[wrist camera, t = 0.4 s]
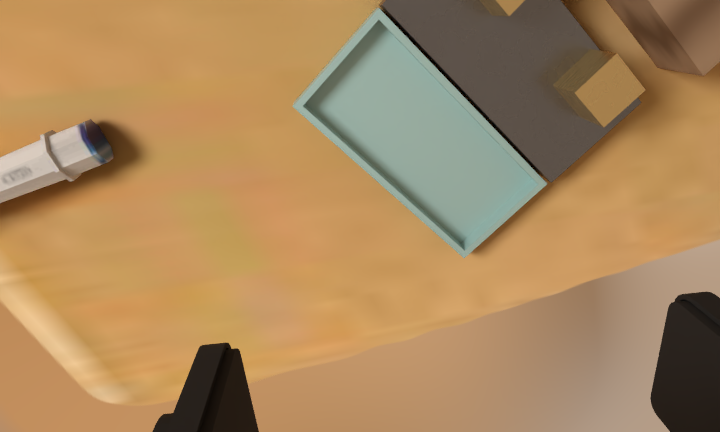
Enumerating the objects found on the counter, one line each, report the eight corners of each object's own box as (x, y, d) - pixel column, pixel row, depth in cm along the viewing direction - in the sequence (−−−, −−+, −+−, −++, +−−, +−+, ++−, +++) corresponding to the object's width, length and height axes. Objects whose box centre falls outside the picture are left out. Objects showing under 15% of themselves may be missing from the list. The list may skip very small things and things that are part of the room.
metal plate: (378, 4, 40) (381, 4, 37) (468, -98, 37) (477, -105, 35) (540, 174, 46) (551, 182, 44) (625, 97, 44) (641, 102, 42)
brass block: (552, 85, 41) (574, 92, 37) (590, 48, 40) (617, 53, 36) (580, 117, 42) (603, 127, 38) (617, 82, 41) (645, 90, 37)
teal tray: (294, 101, 42) (292, 106, 40) (376, 7, 40) (378, 7, 38) (458, 248, 49) (464, 258, 47) (538, 176, 47) (547, 183, 45)
